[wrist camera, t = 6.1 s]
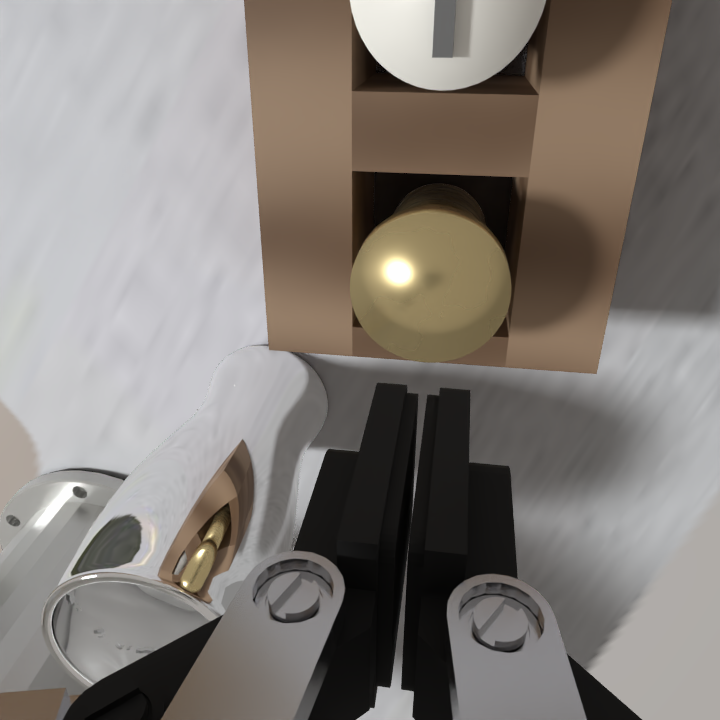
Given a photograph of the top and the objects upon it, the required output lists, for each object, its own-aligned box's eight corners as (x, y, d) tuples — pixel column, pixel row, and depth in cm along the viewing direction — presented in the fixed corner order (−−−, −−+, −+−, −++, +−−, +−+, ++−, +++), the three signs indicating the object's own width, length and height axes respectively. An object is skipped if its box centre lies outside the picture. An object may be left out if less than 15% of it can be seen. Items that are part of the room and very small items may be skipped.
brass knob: (495, 293, 26) (502, 368, 20) (373, 286, 26) (350, 357, 21) (509, 169, 23) (520, 216, 18) (375, 164, 24) (349, 209, 19)
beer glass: (363, 386, 32) (291, 649, 19) (294, 474, 35) (192, 750, 22) (241, 309, 31) (76, 531, 18) (181, 407, 34) (5, 655, 21)
